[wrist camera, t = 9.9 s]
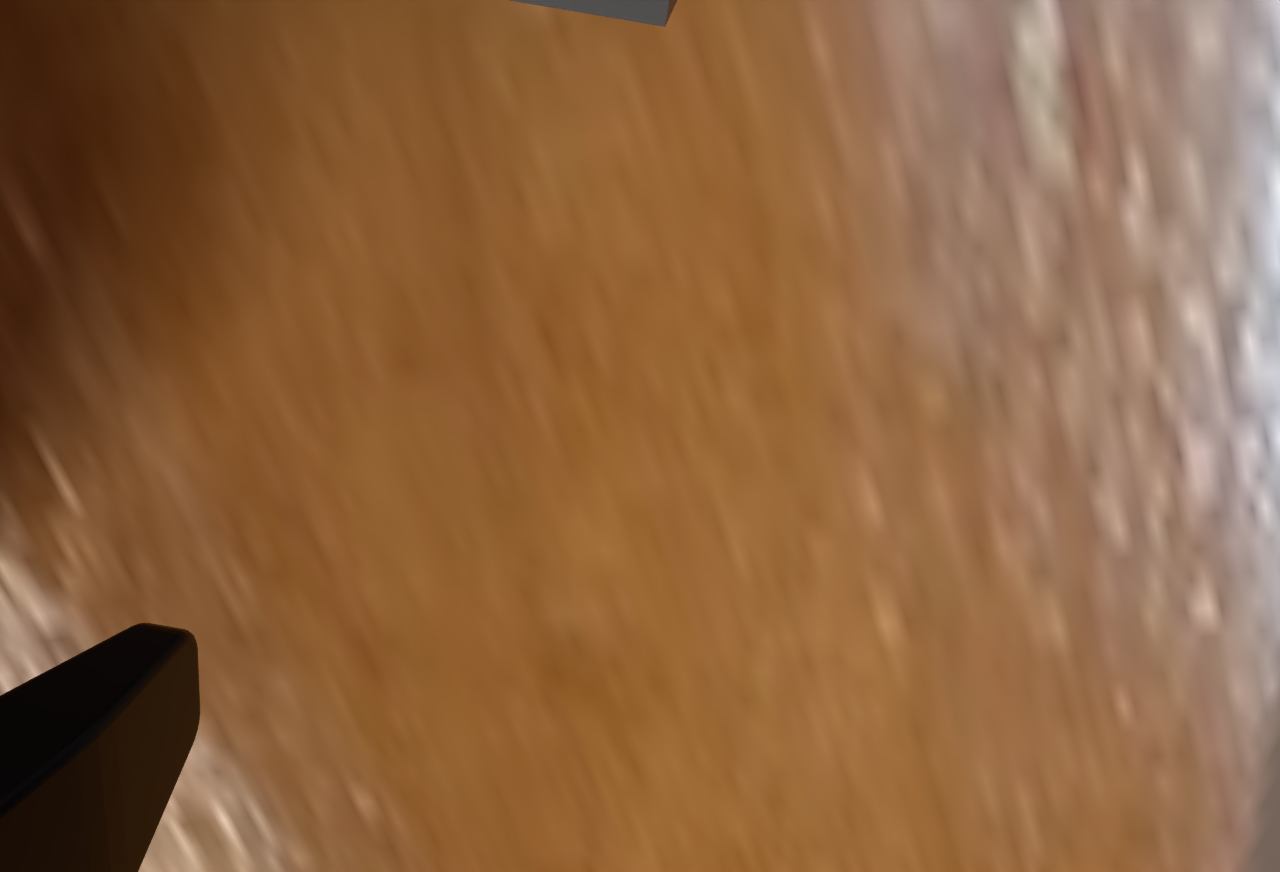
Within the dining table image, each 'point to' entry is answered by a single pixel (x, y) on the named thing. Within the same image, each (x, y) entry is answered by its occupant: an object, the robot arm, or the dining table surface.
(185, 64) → the dining table surface
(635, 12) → the serving tray
